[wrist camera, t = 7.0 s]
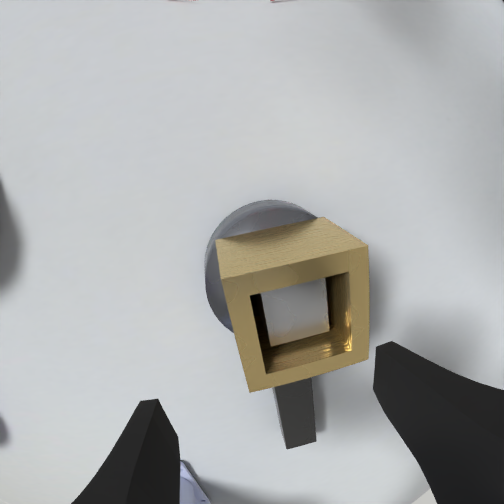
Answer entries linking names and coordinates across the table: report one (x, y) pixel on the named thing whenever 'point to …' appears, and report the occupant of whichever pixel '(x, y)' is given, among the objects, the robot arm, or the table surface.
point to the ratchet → (276, 311)
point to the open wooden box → (292, 273)
